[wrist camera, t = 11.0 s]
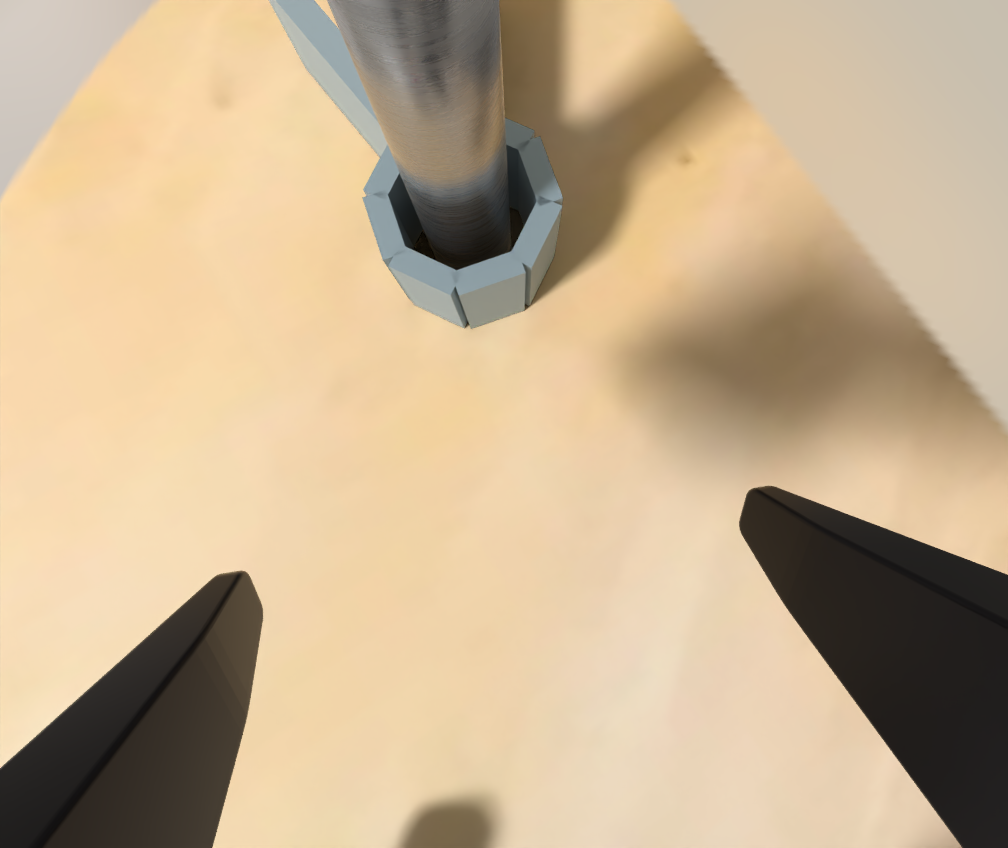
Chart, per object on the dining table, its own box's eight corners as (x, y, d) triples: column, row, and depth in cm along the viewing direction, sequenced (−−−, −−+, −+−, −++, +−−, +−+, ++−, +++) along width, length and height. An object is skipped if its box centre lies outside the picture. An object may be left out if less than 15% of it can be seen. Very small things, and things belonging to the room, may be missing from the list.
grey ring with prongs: (597, 285, 17) (616, 241, 14) (398, 353, 18) (367, 327, 14) (489, -5, 19) (482, -112, 15) (303, 60, 19) (253, -32, 15)
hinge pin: (540, 264, 18) (607, -503, 4) (457, 315, 18) (206, -265, 4) (488, 187, 18) (372, -771, 4) (408, 237, 18) (9, -558, 4)
